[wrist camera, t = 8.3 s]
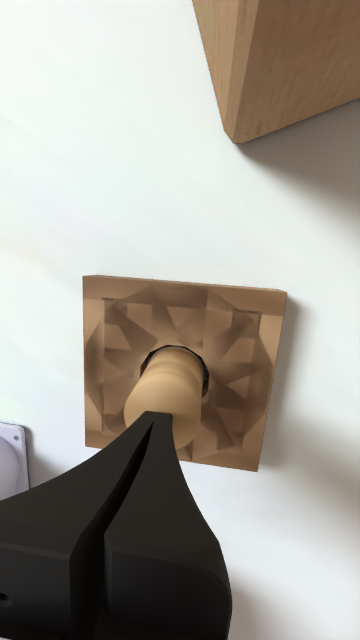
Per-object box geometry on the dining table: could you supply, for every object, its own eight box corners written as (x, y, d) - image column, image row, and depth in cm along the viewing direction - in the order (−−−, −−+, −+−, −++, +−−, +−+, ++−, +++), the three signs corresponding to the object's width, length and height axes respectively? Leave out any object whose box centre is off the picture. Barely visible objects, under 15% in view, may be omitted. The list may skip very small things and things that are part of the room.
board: (252, 451, 20) (257, 472, 18) (96, 429, 21) (85, 446, 19) (278, 289, 17) (287, 292, 15) (96, 274, 18) (82, 276, 16)
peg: (205, 387, 19) (203, 454, 12) (154, 386, 20) (125, 451, 13) (204, 337, 18) (201, 380, 11) (151, 337, 19) (118, 379, 12)
